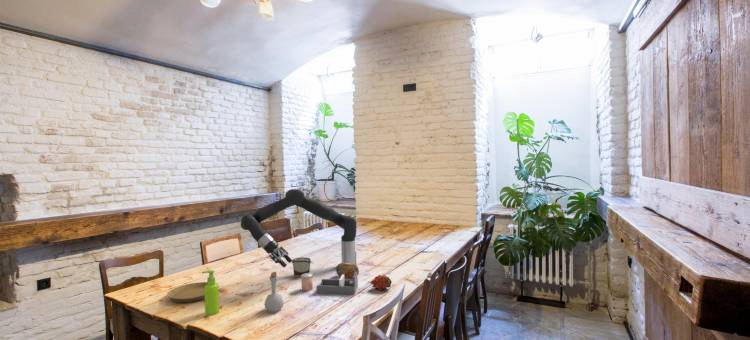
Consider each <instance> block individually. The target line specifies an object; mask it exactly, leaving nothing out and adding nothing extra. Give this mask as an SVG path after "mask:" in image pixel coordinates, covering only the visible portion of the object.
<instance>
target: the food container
mask: <svg viewBox="0 0 750 340" xmlns="http://www.w3.org/2000/svg"><path fill="white" fill-rule="evenodd" d="M311 263H312V259H311V258H309V257H307V256H306V257H305V256H304V257H303V256H302V257H301V256H300V257H295V258H293V259H292V261H291V264H292V269H293V270H292V271H293V276H294V277H301V275H302V274H305V273H311V272H310V270H311Z"/></svg>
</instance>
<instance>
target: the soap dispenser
mask: <svg viewBox="0 0 750 340" xmlns="http://www.w3.org/2000/svg"><path fill="white" fill-rule="evenodd" d="M215 272H216V271H215V270H212V269H209V270H203V271H202V272H201V274H208V277H206V278H207V280H206V282H207V285H205V299H204V314H206V315H205V316H208V315H211V316H215V315H217V314H219V313H220V303H219V302H220V301H219V299H220V297H219V283H216V277H215V276H214V273H215Z"/></svg>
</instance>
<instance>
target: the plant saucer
mask: <svg viewBox="0 0 750 340" xmlns="http://www.w3.org/2000/svg"><path fill="white" fill-rule="evenodd" d="M205 285H207V281H205V282H204V281H200V282H193V283H187V284H184V285H180V286H177V287H174V288H173V289H170V290H169V291H167V294H166V295H167V298H168V299H169V300H171V301H173V302H175V303H183V304H184V303H194V302H198V301H201V300H205Z"/></svg>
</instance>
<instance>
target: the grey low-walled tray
mask: <svg viewBox="0 0 750 340" xmlns="http://www.w3.org/2000/svg"><path fill="white" fill-rule="evenodd" d="M339 279H340V278H339ZM339 279H337V278H336V279H333V278H321V279H320V280H321V281H320V283H319V284H318V285H316V294H322V295H323V294H325V295H326V294H327V295H328V294H329V295H353V296H354V295H355V294H356V292H357V290H358V287H359V283H358V282H359V280H358V276H357V272H355V274H354V276H353V279H344V283H345V285H344V286H339Z"/></svg>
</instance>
